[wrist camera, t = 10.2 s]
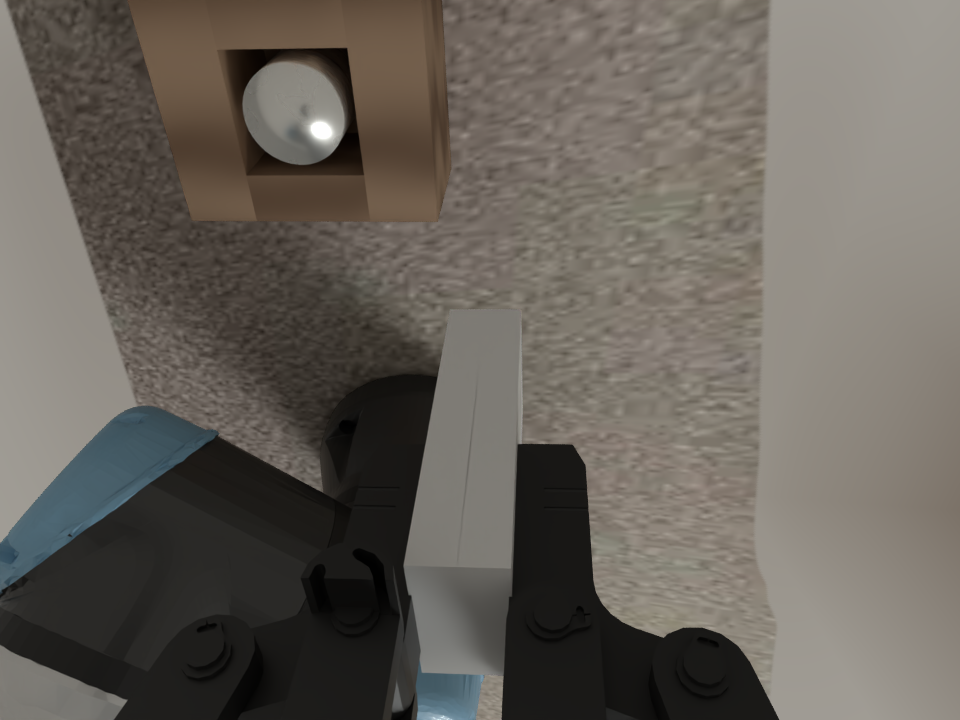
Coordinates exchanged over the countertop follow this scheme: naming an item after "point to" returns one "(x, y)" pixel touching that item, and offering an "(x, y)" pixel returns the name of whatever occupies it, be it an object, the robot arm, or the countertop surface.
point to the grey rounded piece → (301, 104)
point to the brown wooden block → (364, 147)
